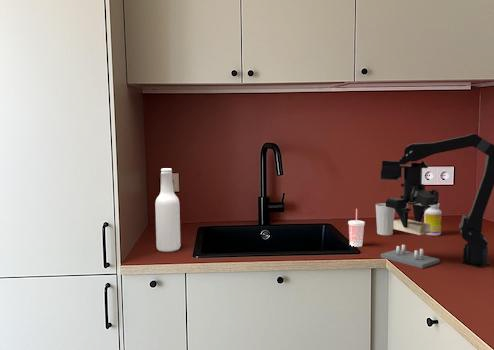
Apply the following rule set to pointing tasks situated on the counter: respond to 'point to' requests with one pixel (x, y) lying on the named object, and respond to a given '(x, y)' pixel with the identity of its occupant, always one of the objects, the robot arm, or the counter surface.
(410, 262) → the peg stand
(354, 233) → the beverage cup
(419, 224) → the shelf board
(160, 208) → the white bottle
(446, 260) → the counter surface
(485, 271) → the counter surface
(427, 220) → the supplement bottle
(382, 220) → the cup
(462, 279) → the counter surface
